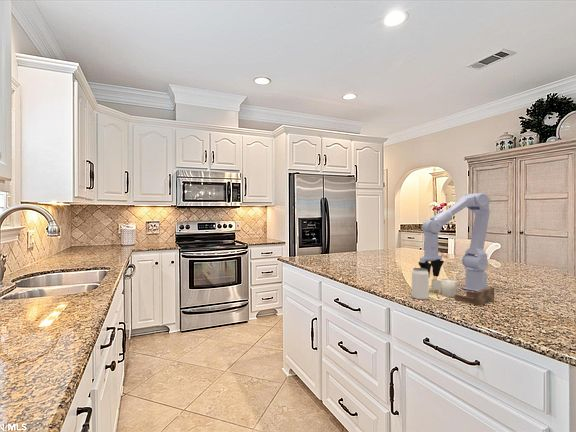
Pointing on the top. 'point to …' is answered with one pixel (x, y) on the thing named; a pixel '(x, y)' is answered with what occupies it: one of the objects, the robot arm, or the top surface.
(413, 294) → the can
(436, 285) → the jug
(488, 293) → the holder
